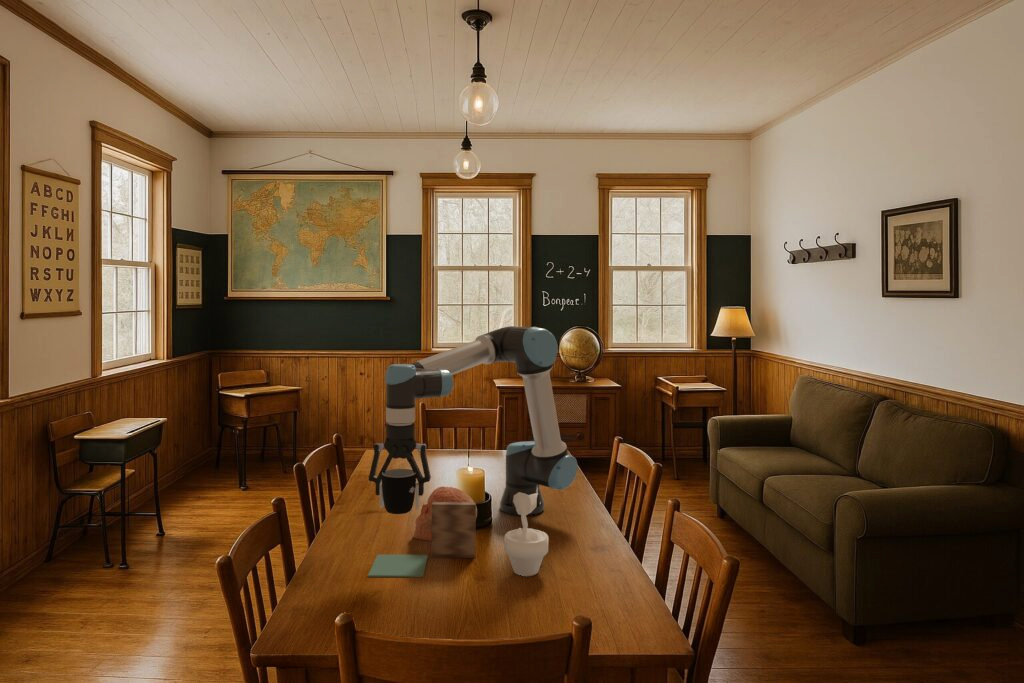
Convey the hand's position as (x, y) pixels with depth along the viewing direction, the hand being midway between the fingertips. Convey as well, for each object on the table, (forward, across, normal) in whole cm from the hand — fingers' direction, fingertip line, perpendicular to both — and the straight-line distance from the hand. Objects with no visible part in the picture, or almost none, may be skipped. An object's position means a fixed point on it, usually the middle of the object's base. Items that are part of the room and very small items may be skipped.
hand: (399, 507), depth 177 cm
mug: (+1, 0, 0) cm, 1 cm away
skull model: (+16, -11, -22) cm, 30 cm away
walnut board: (+16, -14, -9) cm, 23 cm away
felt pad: (+16, 0, 0) cm, 16 cm away
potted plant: (+16, -34, +3) cm, 38 cm away
